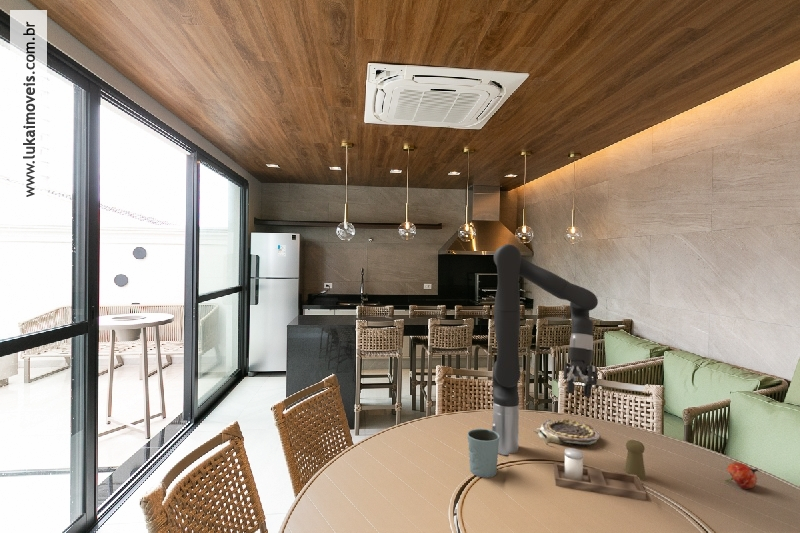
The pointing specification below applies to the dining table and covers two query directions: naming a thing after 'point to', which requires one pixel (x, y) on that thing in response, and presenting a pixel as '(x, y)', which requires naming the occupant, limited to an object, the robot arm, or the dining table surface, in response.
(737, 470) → the pomegranate
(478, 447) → the teal cup
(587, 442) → the pie
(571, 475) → the salt shaker
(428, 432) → the dining table surface
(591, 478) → the cruet caddy
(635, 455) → the olive mushroom knob
